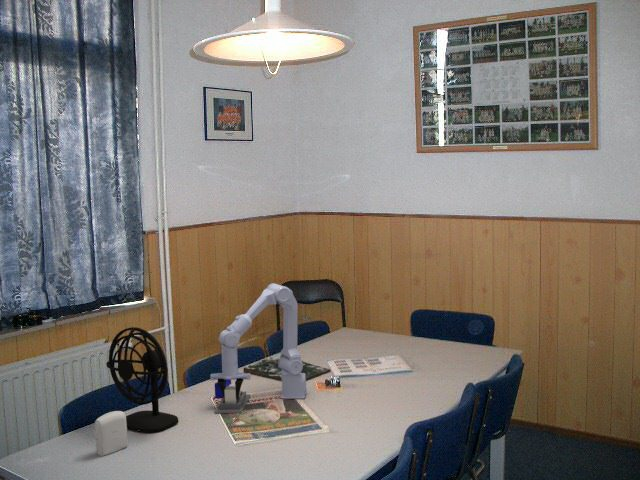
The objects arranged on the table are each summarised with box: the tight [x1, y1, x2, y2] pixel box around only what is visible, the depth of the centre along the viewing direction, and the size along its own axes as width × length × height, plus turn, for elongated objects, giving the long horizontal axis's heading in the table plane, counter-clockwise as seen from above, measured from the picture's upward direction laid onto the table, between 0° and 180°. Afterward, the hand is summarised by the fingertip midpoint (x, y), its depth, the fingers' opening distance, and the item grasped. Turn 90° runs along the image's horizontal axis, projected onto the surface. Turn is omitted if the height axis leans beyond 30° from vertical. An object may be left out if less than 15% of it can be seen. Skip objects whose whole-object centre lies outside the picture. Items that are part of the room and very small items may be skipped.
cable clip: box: [214, 380, 232, 399], centre depth 284 cm, size 12×4×6 cm, turn 170°
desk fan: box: [105, 326, 179, 433], centre depth 250 cm, size 27×18×35 cm, turn 59°
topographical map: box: [243, 357, 332, 382], centre depth 313 cm, size 26×33×3 cm
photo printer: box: [94, 410, 129, 457], centre depth 229 cm, size 10×4×12 cm, turn 140°
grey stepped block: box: [214, 383, 251, 415], centre depth 270 cm, size 10×20×6 cm, turn 177°
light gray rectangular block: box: [224, 386, 238, 403], centre depth 267 cm, size 4×4×6 cm
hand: (231, 398), depth 267 cm, fingers closed on light gray rectangular block, 4 cm apart
